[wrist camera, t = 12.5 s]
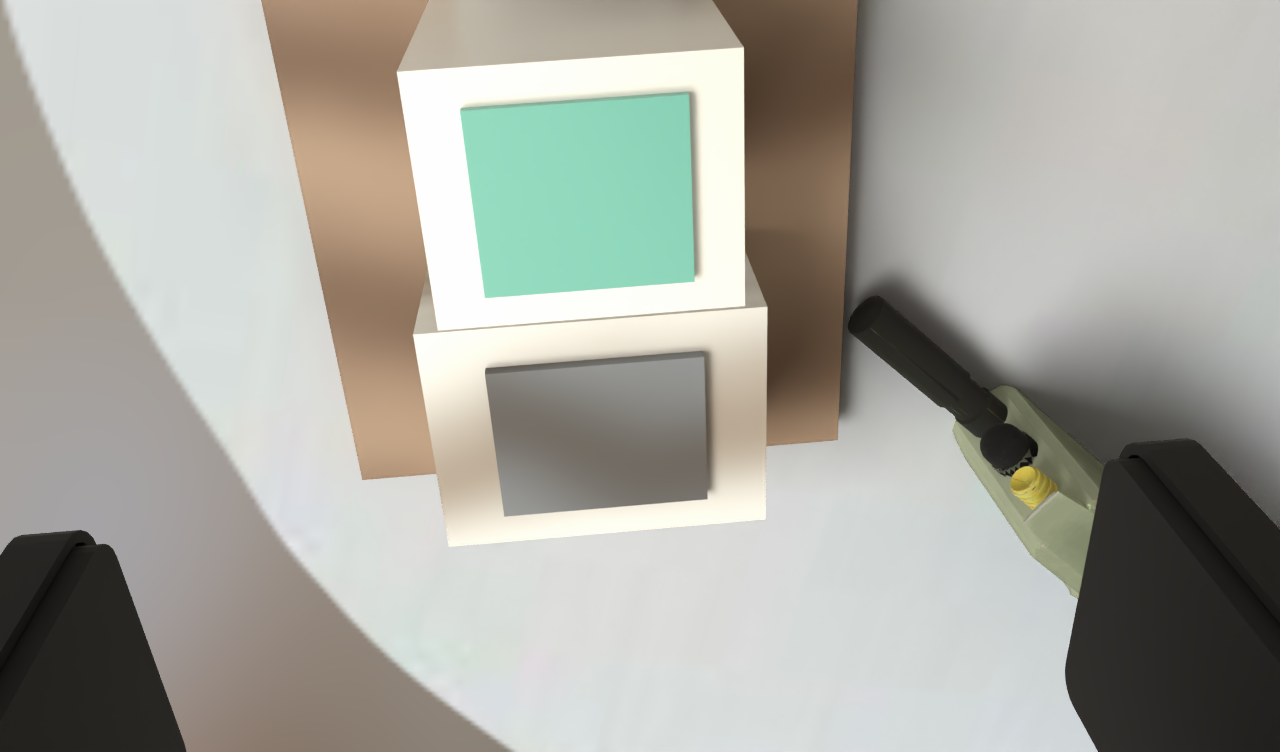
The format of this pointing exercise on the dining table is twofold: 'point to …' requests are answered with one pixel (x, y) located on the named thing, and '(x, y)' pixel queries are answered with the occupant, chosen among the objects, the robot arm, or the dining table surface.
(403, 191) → the board
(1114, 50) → the dining table surface
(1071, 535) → the handheld radio
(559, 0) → the module block
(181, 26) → the dining table surface
